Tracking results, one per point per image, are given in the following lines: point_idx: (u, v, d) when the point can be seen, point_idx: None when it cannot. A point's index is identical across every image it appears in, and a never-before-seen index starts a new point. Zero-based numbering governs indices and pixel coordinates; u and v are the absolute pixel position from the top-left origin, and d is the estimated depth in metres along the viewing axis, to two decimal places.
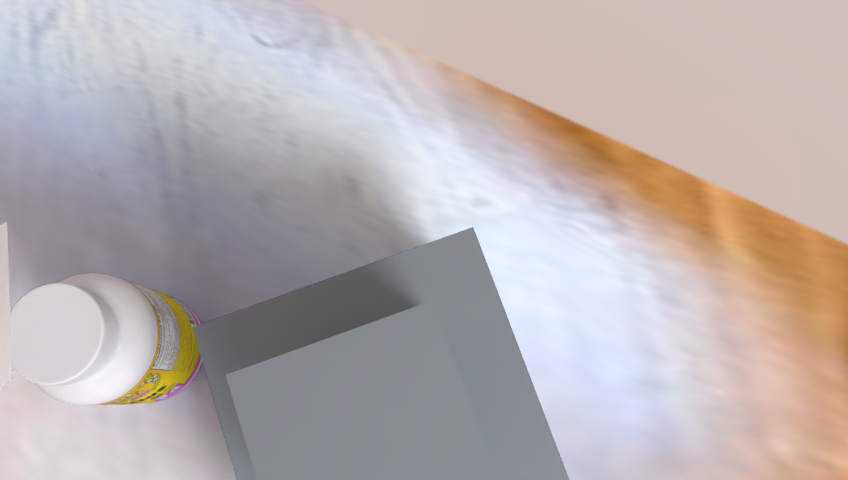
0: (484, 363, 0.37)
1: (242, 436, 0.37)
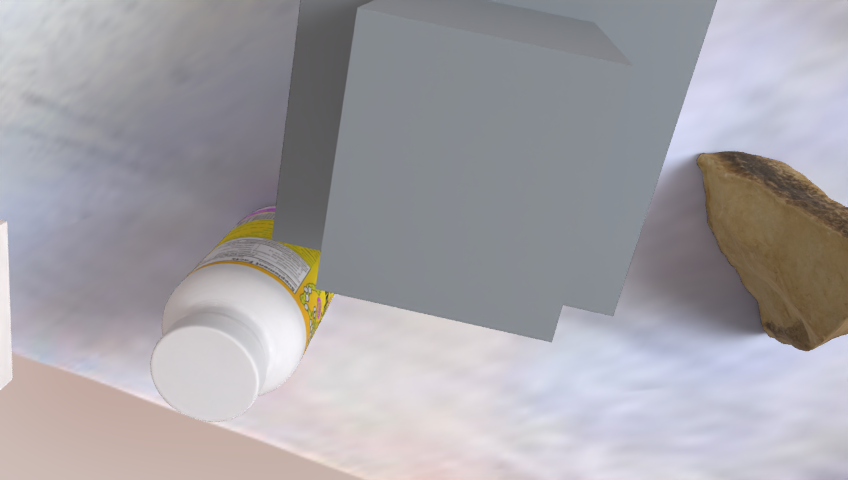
0: None
1: None
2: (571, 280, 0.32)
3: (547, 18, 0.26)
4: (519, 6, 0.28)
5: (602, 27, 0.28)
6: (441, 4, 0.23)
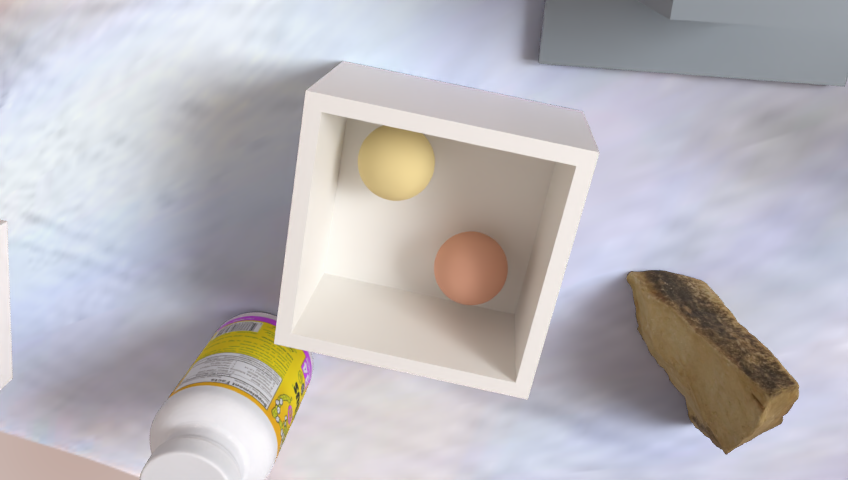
0: None
1: (660, 55, 0.38)
2: (806, 58, 0.37)
3: None
4: None
5: None
6: None
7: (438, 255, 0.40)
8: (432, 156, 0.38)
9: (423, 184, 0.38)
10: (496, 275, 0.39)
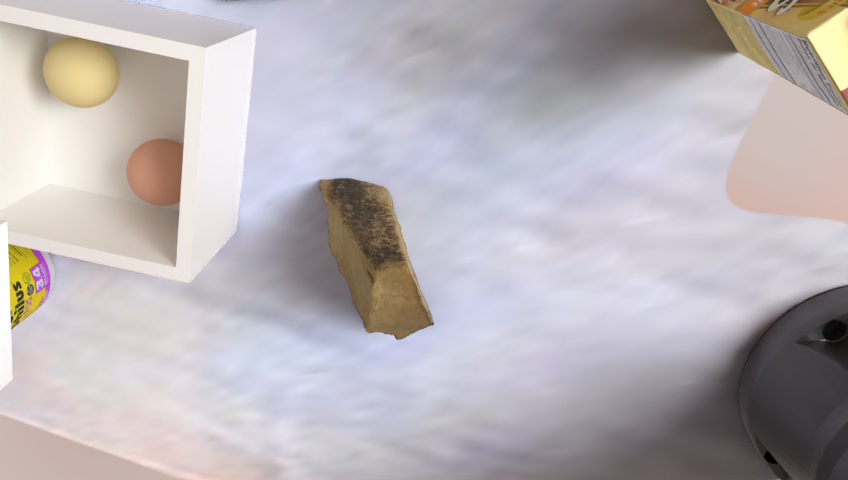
0: None
1: None
2: None
3: None
4: None
5: None
6: None
7: None
8: (109, 65, 0.43)
9: (101, 91, 0.42)
10: (174, 175, 0.43)
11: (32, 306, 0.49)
